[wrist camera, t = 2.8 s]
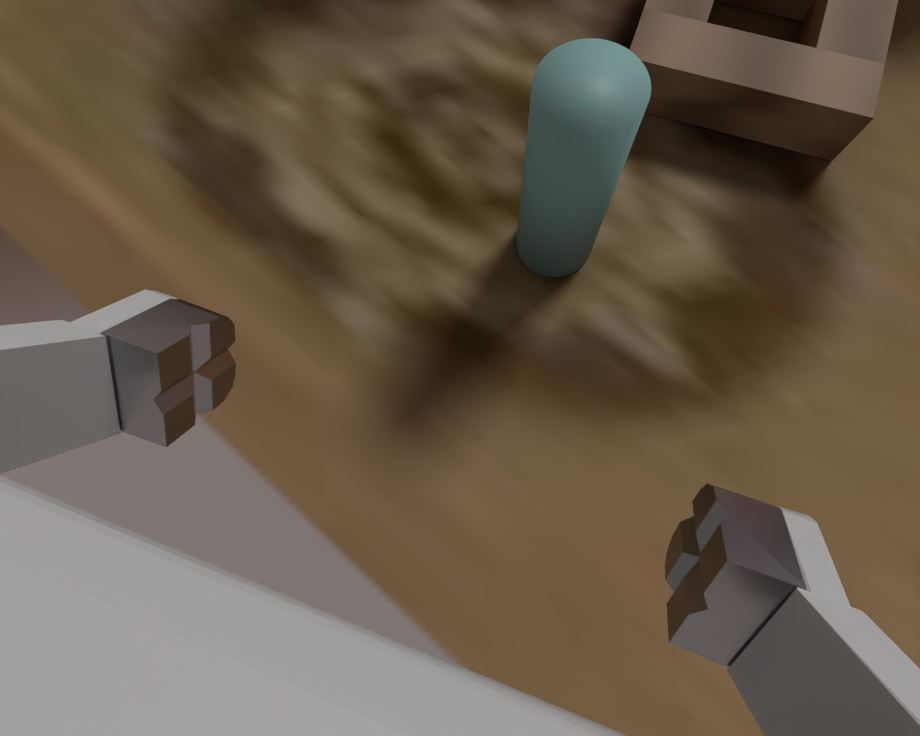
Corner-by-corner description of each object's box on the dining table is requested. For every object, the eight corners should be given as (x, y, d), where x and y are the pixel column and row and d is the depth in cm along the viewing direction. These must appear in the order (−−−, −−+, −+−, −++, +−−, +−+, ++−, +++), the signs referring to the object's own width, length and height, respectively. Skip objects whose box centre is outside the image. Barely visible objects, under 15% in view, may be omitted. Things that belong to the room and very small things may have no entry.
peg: (506, 264, 26) (516, 118, 17) (529, 201, 27) (552, 27, 17) (578, 286, 26) (633, 149, 16) (600, 221, 27) (664, 54, 17)
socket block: (612, 104, 28) (626, 57, 25) (666, -53, 31) (685, -112, 28) (832, 160, 27) (873, 117, 24) (870, -9, 29) (912, -67, 26)
